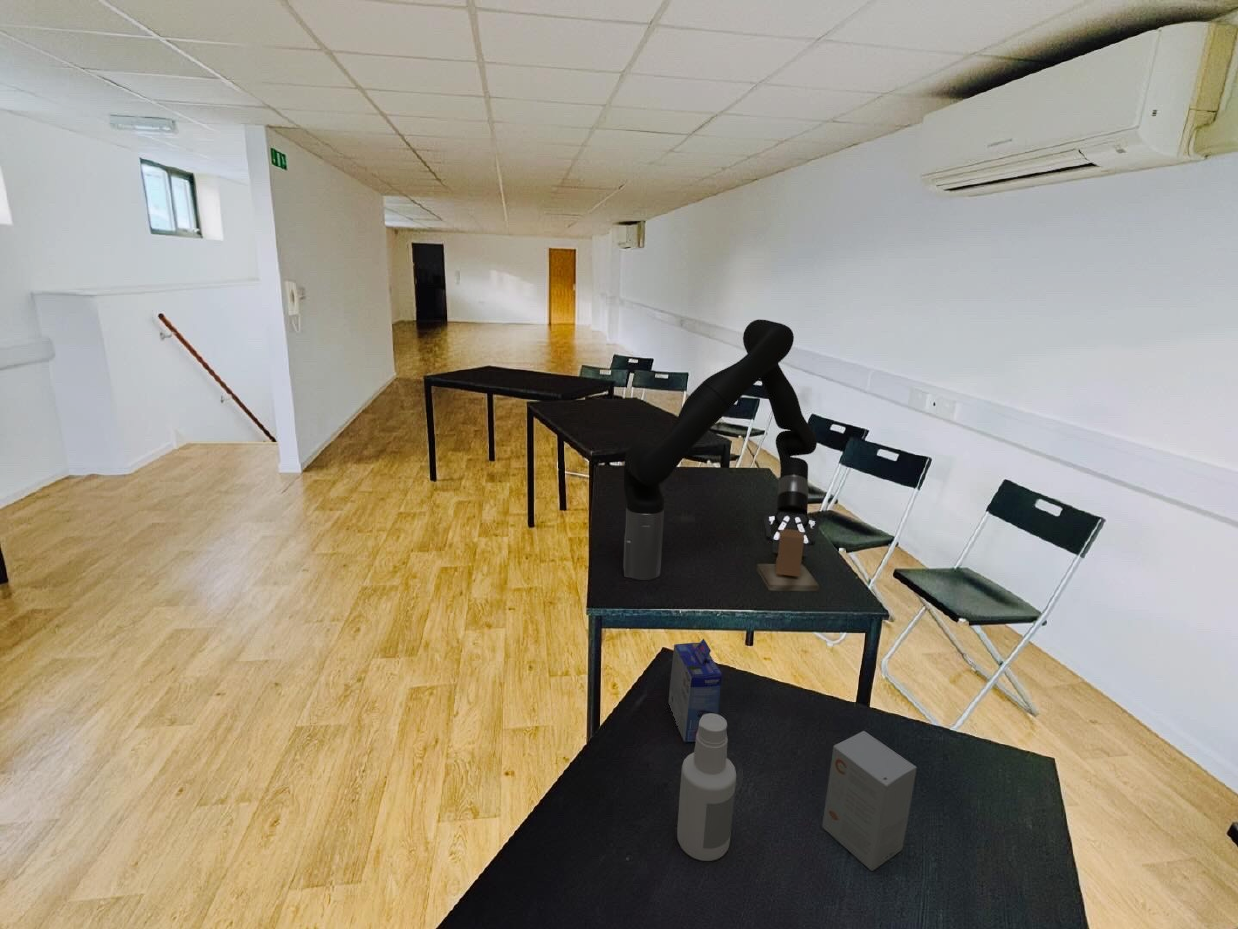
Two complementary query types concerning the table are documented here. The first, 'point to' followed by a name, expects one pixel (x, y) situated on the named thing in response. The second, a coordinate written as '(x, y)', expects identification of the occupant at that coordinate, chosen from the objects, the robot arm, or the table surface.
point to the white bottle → (707, 793)
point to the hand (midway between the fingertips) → (789, 557)
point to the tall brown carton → (789, 552)
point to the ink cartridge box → (693, 687)
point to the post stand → (786, 579)
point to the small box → (868, 799)
